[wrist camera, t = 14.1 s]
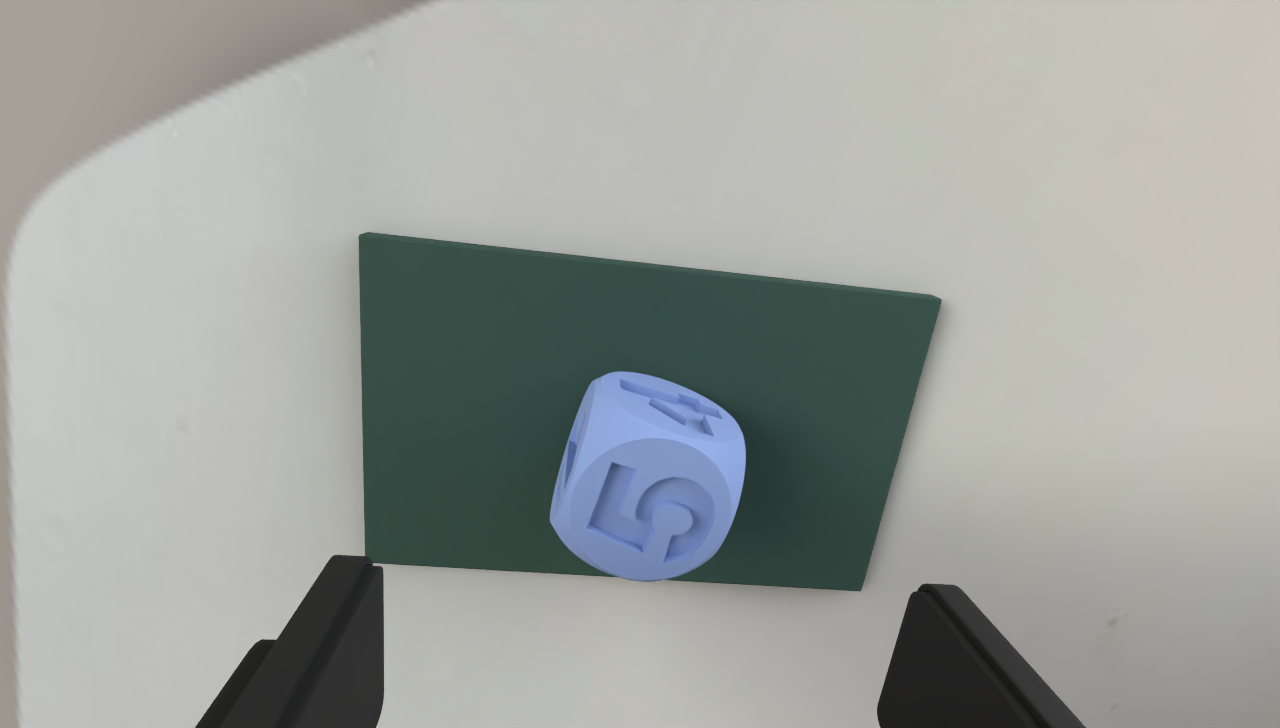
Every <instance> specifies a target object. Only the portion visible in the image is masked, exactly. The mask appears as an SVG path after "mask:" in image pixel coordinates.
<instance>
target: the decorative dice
mask: <svg viewBox="0 0 1280 728" xmlns="http://www.w3.org/2000/svg"><path fill="white" fill-rule="evenodd" d="M745 463H746V450H745V441H744V437H743V434H742V431H741V429H740V427H739V425H738V423H737V422H736V421H735V419H734V418H733V417H732V416H731V415H730V414H729V413H727V412H726V411H725V410H724V409H722V408H721V407H720V406H718V405H717V404H715V403H714V402H712V401H711V400H709V399H707V398H705V397H704V396H702V395H700V394H698V393H696V392H694V391H692V390H690V389H687V388H685V387H683V386H680V385H678V384H675V383H673V382H670V381H667V380H664V379H661V378H657V377H654V376H650V375H645V374H640V373H634V372H612V373H608V374H606V375H604V376H602V377H600V378H597V379H595V380H593V381H592V382H591V384H590V385H589V387H588V389H587V391H586V393H585V395H584V398H583V400H582V402H581V405H580V407H579V410H578V413H577V415H576V418H575V421H574V424H573V427H572V430H571V433H570V436H569V439H568V442H567V445H566V449H565V452H564V455H563V459H562V462H561V466H560V469H559V473H558V477H557V481H556V485H555V489H554V494H553V499H552V504H551V510H550V523H551V524H552V526H553V528H554V529H555V531H556V533H557V534H558V536H559V537H560V539H561V540H562V542H563V543H564V544H565V545H566V546H567V547H568V548H569V549H570V550H571V551H572V552H573V553H574V554H575V555H576V556H578V557H579V558H580V559H582V560H583V561H585V562H586V563H588V564H590V565H591V566H593V567H595V568H597V569H599V570H601V571H603V572H606V573H608V574H611V575H614V576H617V577H620V578H624V579H628V580H634V581H644V582H650V581H660V580H666V579H670V578H674V577H677V576H680V575H682V574H685V573H687V572H690V571H692V570H693V569H695V568H697V567H699V566H701V565H702V564H703V563H705V562H706V561H708V560H709V559H710V558H711V557H713V556H714V554H715V553H716V552H717V551H718V549H719V548H720V546H721V545H722V543H723V541H724V540H725V538H726V536H727V534H728V532H729V529H730V527H731V525H732V522H733V519H734V517H735V514H736V511H737V507H738V504H739V500H740V496H741V492H742V487H743V481H744V474H745Z"/></svg>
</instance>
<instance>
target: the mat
mask: <svg viewBox="0 0 1280 728" xmlns="http://www.w3.org/2000/svg"><path fill="white" fill-rule="evenodd" d="M359 273H360V322H361V372H362V422H363V471H364V521H365V556H366V557H370V558H371V559H372V563H382V564H400V565H417V566H434V567H451V568H469V569H486V570H503V571H521V572H538V573H555V574H572V575H590V576H607V577H617V576H614V575H611V574H608V573H606V572H603V571H601V570H599V569H597V568H595V567H593V566H591V565H590V564H588V563H586V562H585V561H583V560H582V559H580V558H579V557H578V556H576V555H575V554H574V553H573V552H572V551H571V550H570V549H569V548H568V547H567V546H566V545H565V544H564V543H563V542H562V540H561V539H560V537H559V536H558V534H557V533H556V531H555V529H554V528H553V526H552V524H551V523H550V510H551V504H552V499H553V494H554V489H555V485H556V481H557V477H558V473H559V469H560V466H561V462H562V459H563V455H564V452H565V449H566V445H567V442H568V439H569V436H570V433H571V430H572V427H573V424H574V421H575V418H576V415H577V413H578V410H579V407H580V405H581V402H582V400H583V398H584V395H585V393H586V391H587V389H588V387H589V385H590V384H591V382H592V381H593V380H595V379H597V378H600V377H602V376H604V375H606V374H608V373H612V372H634V373H640V374H645V375H650V376H654V377H657V378H661V379H664V380H667V381H670V382H673V383H675V384H678V385H680V386H683V387H685V388H687V389H690V390H692V391H694V392H696V393H698V394H700V395H702V396H704V397H705V398H707V399H709V400H711V401H712V402H714V403H715V404H717V405H718V406H720V407H721V408H722V409H724V410H725V411H726V412H727V413H729V414H730V415H731V416H732V417H733V418H734V419H735V421H736V422H737V423H738V425H739V427H740V429H741V431H742V434H743V437H744V441H745V450H746V463H745V474H744V481H743V487H742V492H741V496H740V500H739V504H738V507H737V511H736V514H735V517H734V519H733V522H732V525H731V527H730V529H729V532H728V534H727V536H726V538H725V540H724V541H723V543H722V545H721V546H720V548H719V549H718V551H717V552H716V553H715V554H714V556H713V557H711V558H710V559H709V560H708V561H706V562H705V563H703V564H702V565H701V566H699V567H697V568H695V569H693V570H692V571H690V572H687V573H685V574H682V575H680V576H677V577H674V578H670V579H666V580H676V581H693V582H711V583H728V584H745V585H762V586H780V587H797V588H814V589H832V590H849V591H861V590H862V586H863V582H864V579H865V575H866V571H867V568H868V564H869V561H870V557H871V553H872V550H873V546H874V543H875V539H876V535H877V532H878V528H879V524H880V521H881V517H882V514H883V510H884V506H885V503H886V499H887V496H888V492H889V488H890V485H891V481H892V477H893V474H894V470H895V467H896V463H897V459H898V456H899V452H900V449H901V445H902V441H903V438H904V434H905V430H906V427H907V423H908V420H909V416H910V412H911V409H912V405H913V402H914V398H915V394H916V391H917V387H918V383H919V380H920V376H921V373H922V369H923V365H924V362H925V358H926V355H927V351H928V347H929V344H930V340H931V336H932V333H933V329H934V326H935V322H936V318H937V315H938V311H939V308H940V304H941V299H940V298H938V297H935V296H933V295H928V294H919V293H910V292H901V291H892V290H883V289H874V288H865V287H856V286H847V285H838V284H829V283H820V282H811V281H802V280H793V279H784V278H775V277H766V276H757V275H748V274H739V273H730V272H721V271H712V270H703V269H694V268H685V267H676V266H667V265H658V264H649V263H640V262H631V261H622V260H613V259H604V258H595V257H586V256H577V255H568V254H559V253H550V252H541V251H532V250H523V249H514V248H505V247H496V246H487V245H478V244H469V243H460V242H451V241H442V240H433V239H424V238H415V237H406V236H397V235H388V234H379V233H370V232H367V233H364V234H360V235H359Z"/></svg>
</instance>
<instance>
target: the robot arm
mask: <svg viewBox="0 0 1280 728" xmlns="http://www.w3.org/2000/svg"><path fill="white" fill-rule="evenodd" d="M383 698H384V604H383V568H382V567H381V566H373V564H372V559H371V558H370V557H366V556H346V555H334V556H332V557H331V559H330V560H329V561H328V563H327V564H326V566H325V567H324V569H323V570H322V572H321V573H320V575H319V576H318V578H317V579H316V581H315V582H314V584H313V586H312V587H311V589H310V590H309V592H308V593H307V595H306V596H305V598H304V599H303V601H302V602H301V604H300V605H299V607H298V608H297V610H296V611H295V613H294V614H293V616H292V617H291V619H290V620H289V622H288V624H287V625H286V627H285V628H284V630H283V631H282V633H281V634H280V636H279V637H278V639H277V640H263V639H262V640H260V641H259V642H257V643H255V645H254V646H253V647H252V648H251V649H250V650H249V651H248V653H247V654H246V656H245V657H244V659H243V660H242V661H241V663H240V664H239V666H238V667H237V669H236V670H235V671H234V673H233V674H232V676H231V677H230V679H229V680H228V681H227V683H226V684H225V686H224V687H223V689H222V690H221V691H220V693H219V694H218V696H217V697H216V699H215V700H214V701H213V703H212V704H211V706H210V707H209V709H208V710H207V711H206V713H205V714H204V716H203V717H202V719H201V720H200V721H199V723H198V724H197V726H196V727H195V728H376V726H377V723H378V721H379V717H380V714H381V710H382V705H383ZM877 715H878V721H879V725H880V727H881V728H1086V727H1085V726H1084V725H1083V724H1082V723H1081V722H1080V721H1079V719H1078V718H1077V717H1076V716H1075V715H1074V714H1073V713H1072V712H1071V711H1070V709H1069V708H1068V707H1067V706H1066V705H1065V704H1064V703H1063V702H1062V701H1061V699H1060V698H1059V697H1058V696H1057V695H1056V694H1055V693H1054V692H1053V691H1052V689H1051V688H1050V687H1049V686H1048V685H1047V684H1046V683H1045V682H1044V681H1043V679H1042V678H1041V677H1040V676H1039V675H1038V674H1037V673H1036V672H1035V671H1034V669H1033V668H1032V667H1031V666H1030V665H1029V664H1028V663H1027V662H1026V661H1025V660H1024V658H1023V657H1022V656H1021V655H1020V654H1019V653H1018V652H1017V651H1016V650H1015V648H1014V647H1013V646H1012V645H1011V644H1010V643H1009V642H1008V641H1007V640H1006V638H1005V637H1004V636H1003V635H1002V634H1001V633H1000V632H999V631H998V630H997V628H996V627H995V626H994V625H993V624H992V623H991V622H990V621H989V620H988V618H987V617H986V616H985V615H984V614H983V613H982V612H981V611H980V610H979V608H978V607H977V606H976V605H975V604H974V603H973V602H972V601H971V600H970V598H969V597H968V596H967V595H966V594H965V593H964V592H963V591H962V590H961V589H960V588H959V587H958V586H955V585H944V584H923V585H921V586H920V587H919V589H918V591H916V592H913V593H912V594H911V596H910V598H909V601H908V604H907V608H906V611H905V614H904V618H903V621H902V624H901V628H900V631H899V635H898V638H897V641H896V645H895V648H894V652H893V655H892V658H891V662H890V665H889V668H888V672H887V675H886V679H885V682H884V685H883V689H882V692H881V695H880V699H879V702H878V707H877Z"/></svg>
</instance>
